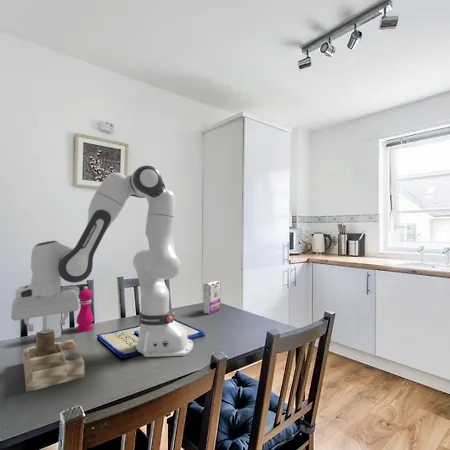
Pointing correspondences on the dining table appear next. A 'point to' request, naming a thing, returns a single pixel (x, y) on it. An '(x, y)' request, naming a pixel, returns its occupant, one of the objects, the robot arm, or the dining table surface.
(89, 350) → the dining table surface
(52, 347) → the plug
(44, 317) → the skincare box
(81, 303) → the pepper mill
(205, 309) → the candy bar box
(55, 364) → the tag socket block
